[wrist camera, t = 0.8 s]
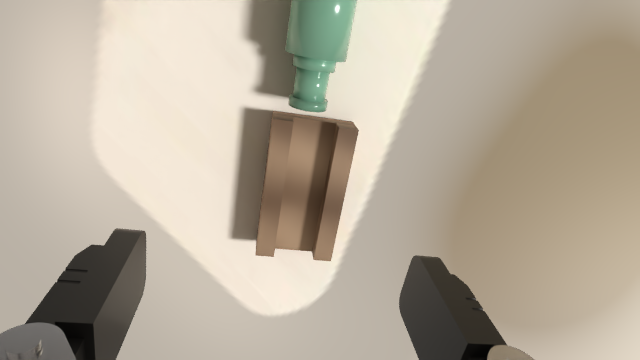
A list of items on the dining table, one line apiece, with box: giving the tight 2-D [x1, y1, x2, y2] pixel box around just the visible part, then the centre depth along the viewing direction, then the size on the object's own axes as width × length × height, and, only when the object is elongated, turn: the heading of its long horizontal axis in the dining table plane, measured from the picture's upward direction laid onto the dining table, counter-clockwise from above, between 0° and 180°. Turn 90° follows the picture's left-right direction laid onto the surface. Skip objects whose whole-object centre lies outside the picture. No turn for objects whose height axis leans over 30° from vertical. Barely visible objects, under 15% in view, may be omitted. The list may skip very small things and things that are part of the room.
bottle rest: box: [256, 111, 359, 261], centre depth 31 cm, size 11×6×2 cm, turn 170°
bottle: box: [285, 0, 357, 112], centre depth 26 cm, size 9×4×4 cm, turn 170°
